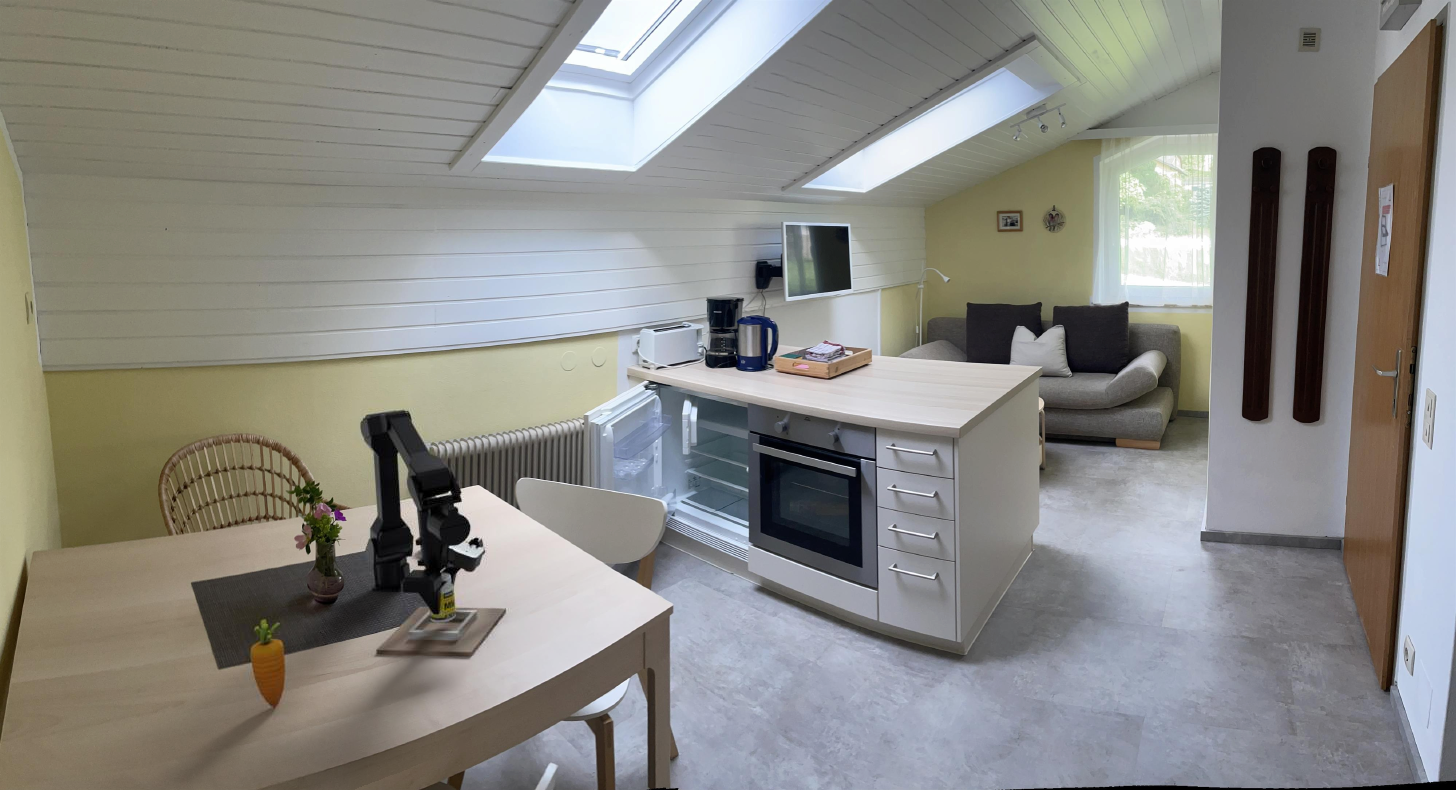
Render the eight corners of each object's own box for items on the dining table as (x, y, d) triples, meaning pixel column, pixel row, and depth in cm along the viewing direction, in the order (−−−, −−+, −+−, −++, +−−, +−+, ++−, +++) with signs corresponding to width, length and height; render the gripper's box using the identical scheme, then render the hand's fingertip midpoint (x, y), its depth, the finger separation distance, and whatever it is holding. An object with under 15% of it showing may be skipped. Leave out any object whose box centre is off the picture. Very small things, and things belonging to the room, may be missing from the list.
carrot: (265, 699, 140) (254, 615, 137) (296, 697, 140) (285, 613, 137) (251, 716, 135) (239, 629, 132) (284, 714, 135) (272, 627, 132)
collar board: (376, 653, 154) (375, 642, 154) (420, 610, 172) (419, 599, 171) (471, 656, 153) (470, 644, 152) (506, 612, 170) (505, 601, 170)
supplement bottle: (448, 624, 159) (444, 582, 157) (425, 622, 160) (421, 581, 158) (460, 613, 164) (457, 572, 162) (438, 611, 165) (434, 571, 163)
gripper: (456, 550, 148) (463, 632, 151) (494, 514, 167) (500, 588, 170) (395, 549, 150) (404, 630, 153) (440, 514, 168) (447, 587, 171)
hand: (442, 608), depth 161 cm, fingers closed on supplement bottle, 5 cm apart
